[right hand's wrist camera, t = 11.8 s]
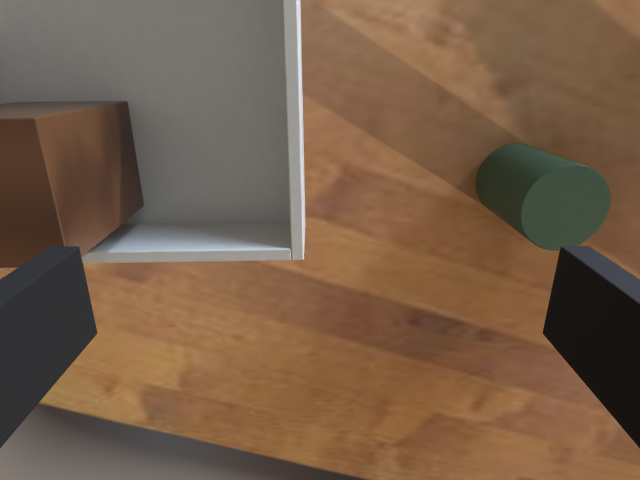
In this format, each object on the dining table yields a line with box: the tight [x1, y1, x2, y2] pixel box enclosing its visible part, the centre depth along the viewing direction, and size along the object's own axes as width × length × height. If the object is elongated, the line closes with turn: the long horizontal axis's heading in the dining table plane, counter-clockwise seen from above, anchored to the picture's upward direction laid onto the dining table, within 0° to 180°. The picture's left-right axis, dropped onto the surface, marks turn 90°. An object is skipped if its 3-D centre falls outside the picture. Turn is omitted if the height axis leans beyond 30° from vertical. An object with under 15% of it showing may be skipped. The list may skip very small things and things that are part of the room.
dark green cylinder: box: [476, 144, 611, 250], centre depth 31 cm, size 6×6×8 cm
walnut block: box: [0, 101, 144, 268], centre depth 19 cm, size 6×6×8 cm
